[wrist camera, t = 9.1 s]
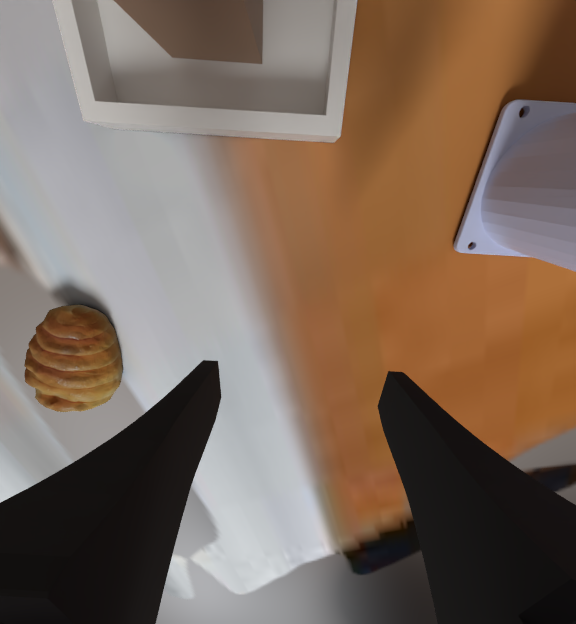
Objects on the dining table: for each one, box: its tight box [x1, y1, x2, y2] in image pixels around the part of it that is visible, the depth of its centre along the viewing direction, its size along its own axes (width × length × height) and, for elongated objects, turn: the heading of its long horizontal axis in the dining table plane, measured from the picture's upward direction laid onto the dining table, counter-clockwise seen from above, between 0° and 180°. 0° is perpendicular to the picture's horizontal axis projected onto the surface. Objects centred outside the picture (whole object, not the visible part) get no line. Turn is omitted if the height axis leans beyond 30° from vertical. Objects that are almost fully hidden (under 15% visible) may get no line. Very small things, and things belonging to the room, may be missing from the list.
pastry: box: [25, 305, 123, 412], centre depth 21 cm, size 9×7×4 cm
